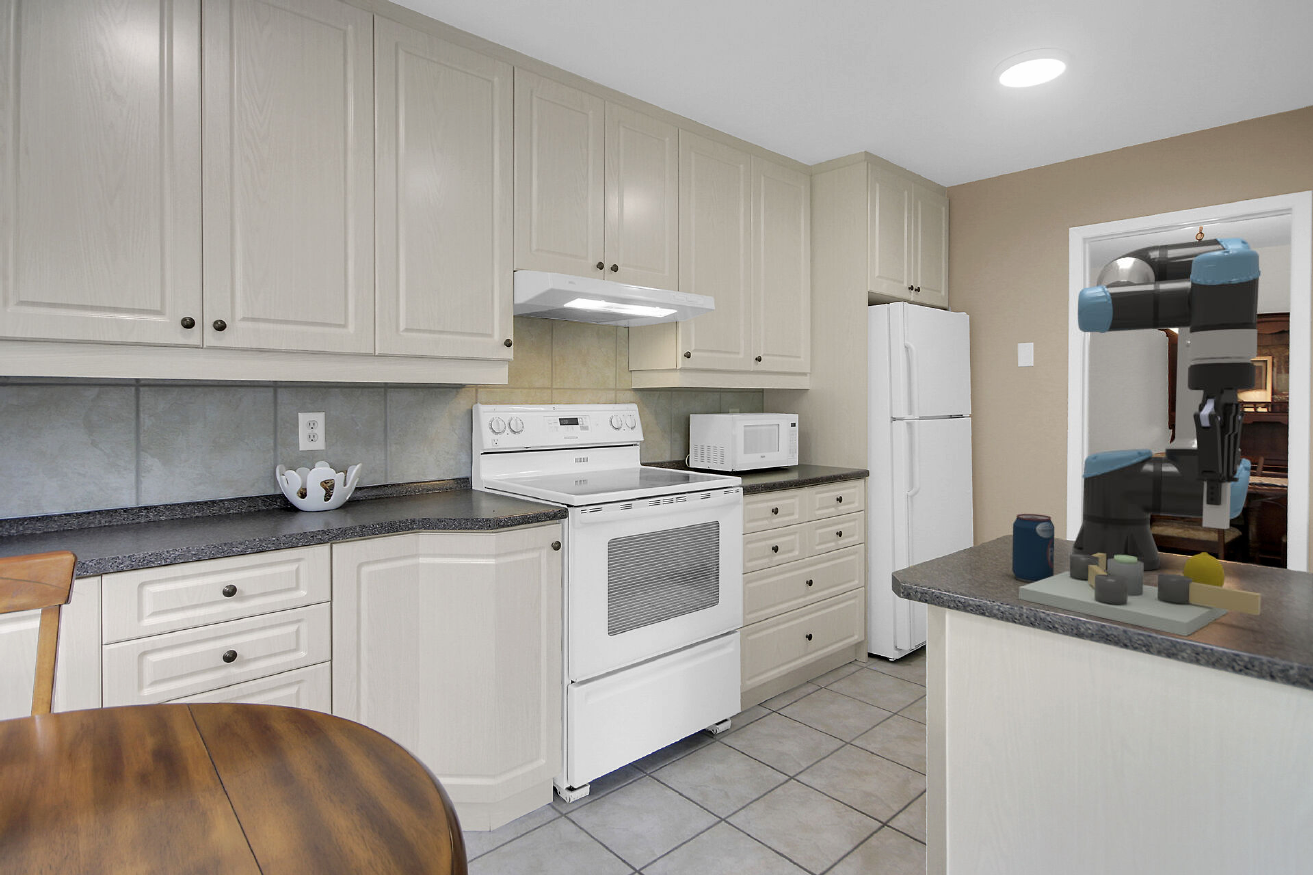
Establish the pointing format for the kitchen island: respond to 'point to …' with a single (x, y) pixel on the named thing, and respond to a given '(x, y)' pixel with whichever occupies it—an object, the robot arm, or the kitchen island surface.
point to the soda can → (1033, 547)
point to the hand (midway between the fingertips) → (1215, 526)
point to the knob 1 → (1085, 564)
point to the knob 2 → (1206, 594)
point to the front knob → (1108, 586)
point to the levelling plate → (1137, 610)
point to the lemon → (1204, 570)
